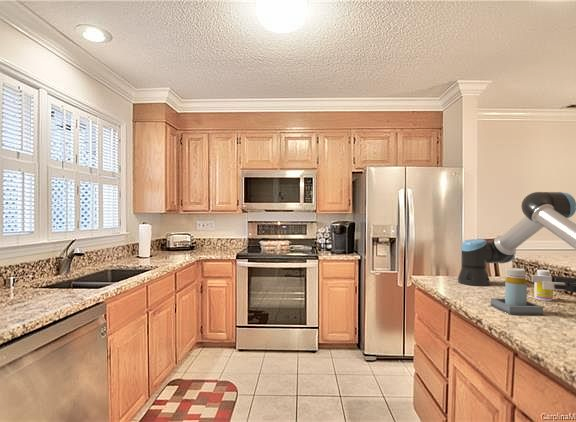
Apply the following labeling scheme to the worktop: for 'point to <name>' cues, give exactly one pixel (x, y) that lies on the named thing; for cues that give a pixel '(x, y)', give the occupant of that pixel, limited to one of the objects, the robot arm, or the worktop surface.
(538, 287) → the supplement bottle
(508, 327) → the worktop surface
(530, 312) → the tray
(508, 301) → the bottle
